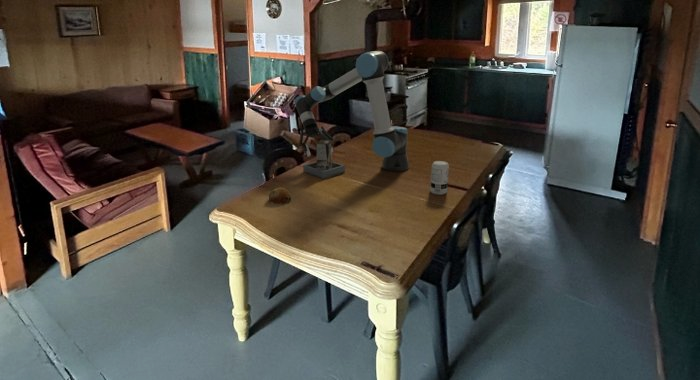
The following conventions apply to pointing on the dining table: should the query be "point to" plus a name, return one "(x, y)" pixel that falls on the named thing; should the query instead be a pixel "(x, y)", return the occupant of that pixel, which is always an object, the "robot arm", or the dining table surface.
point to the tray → (313, 171)
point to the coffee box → (324, 155)
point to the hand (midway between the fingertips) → (320, 154)
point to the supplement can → (439, 177)
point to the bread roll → (279, 196)
